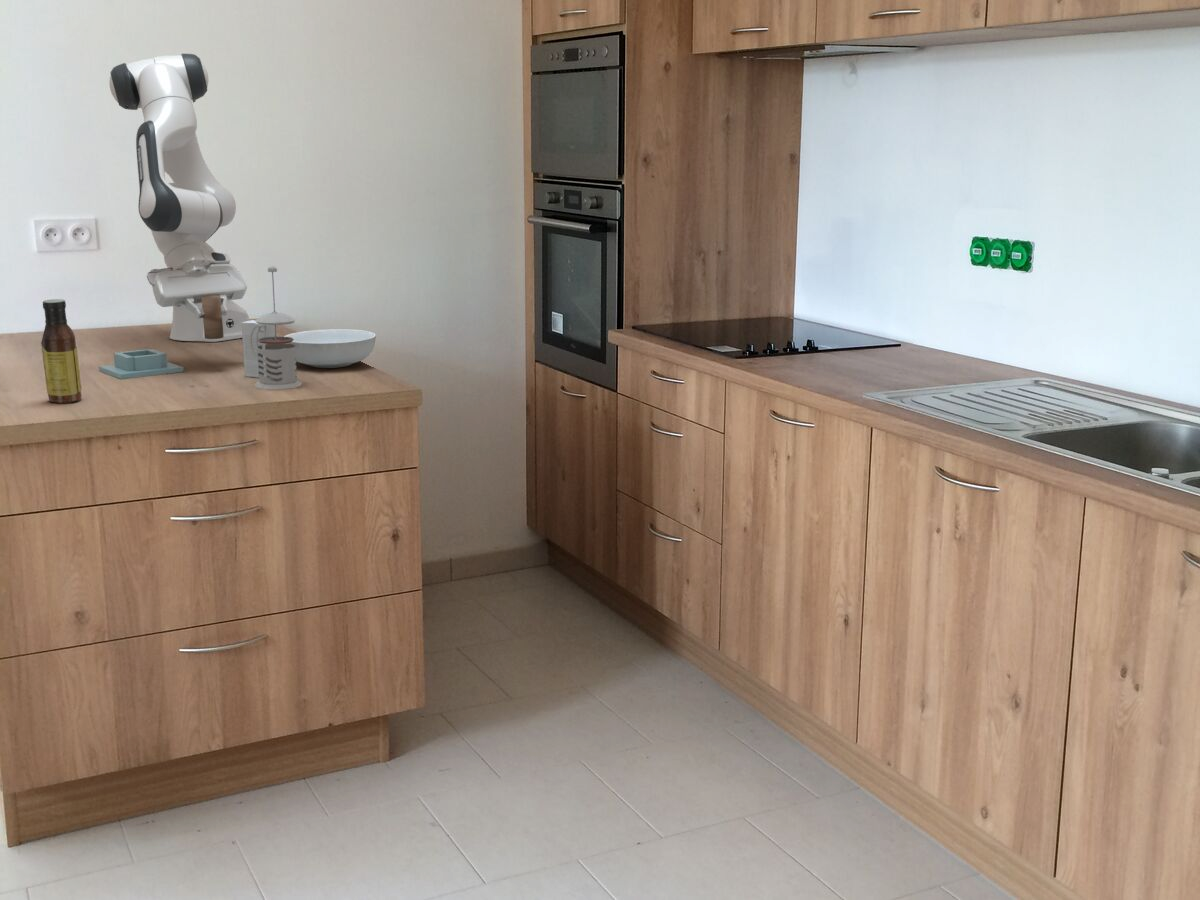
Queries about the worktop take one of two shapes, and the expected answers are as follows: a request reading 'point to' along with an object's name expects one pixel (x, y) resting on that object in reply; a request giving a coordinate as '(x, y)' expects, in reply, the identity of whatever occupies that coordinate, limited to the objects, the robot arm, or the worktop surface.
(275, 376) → the french press
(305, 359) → the serving bowl
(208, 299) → the brown cylinder
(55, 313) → the sauce bottle
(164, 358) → the holder
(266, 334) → the skincare box
